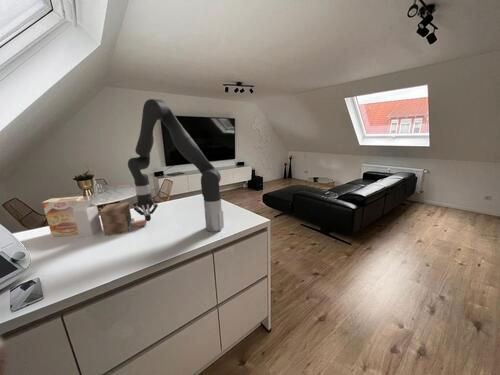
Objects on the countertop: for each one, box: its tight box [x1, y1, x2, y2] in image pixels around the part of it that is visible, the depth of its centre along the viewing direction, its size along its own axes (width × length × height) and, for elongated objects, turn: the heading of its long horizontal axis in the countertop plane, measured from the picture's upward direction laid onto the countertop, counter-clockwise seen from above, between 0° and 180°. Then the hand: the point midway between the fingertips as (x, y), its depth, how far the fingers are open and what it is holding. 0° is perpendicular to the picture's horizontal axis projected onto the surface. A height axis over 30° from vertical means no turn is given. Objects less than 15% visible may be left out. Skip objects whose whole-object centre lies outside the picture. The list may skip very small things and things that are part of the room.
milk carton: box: [73, 200, 103, 238], centre depth 105 cm, size 7×7×19 cm
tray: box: [127, 217, 148, 233], centre depth 114 cm, size 18×12×3 cm, turn 111°
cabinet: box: [99, 201, 132, 237], centre depth 111 cm, size 11×12×14 cm
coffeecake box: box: [41, 195, 85, 238], centre depth 108 cm, size 15×7×20 cm, turn 105°
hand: (148, 220), depth 117 cm, fingers closed
